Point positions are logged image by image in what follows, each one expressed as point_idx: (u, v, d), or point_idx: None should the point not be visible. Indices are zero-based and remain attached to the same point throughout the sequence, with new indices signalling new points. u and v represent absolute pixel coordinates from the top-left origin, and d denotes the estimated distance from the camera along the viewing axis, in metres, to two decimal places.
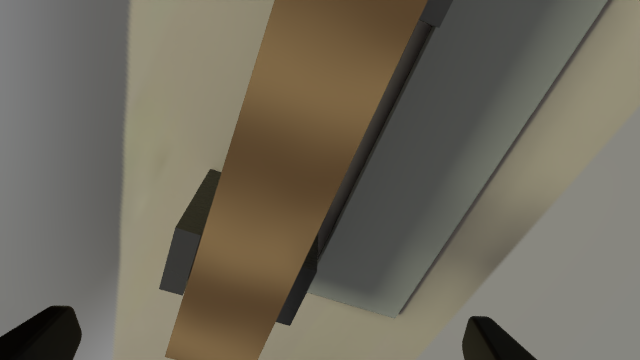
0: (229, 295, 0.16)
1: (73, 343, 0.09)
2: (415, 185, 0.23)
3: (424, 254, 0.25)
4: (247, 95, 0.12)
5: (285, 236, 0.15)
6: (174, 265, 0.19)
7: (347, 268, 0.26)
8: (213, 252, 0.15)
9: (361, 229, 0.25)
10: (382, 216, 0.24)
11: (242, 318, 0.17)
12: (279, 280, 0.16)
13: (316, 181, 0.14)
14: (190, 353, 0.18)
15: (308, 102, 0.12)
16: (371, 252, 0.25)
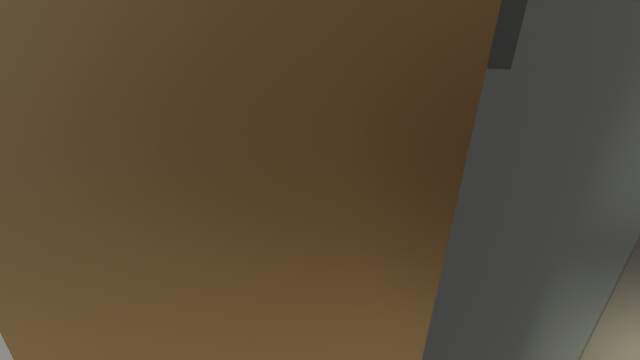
0: None
1: None
2: (516, 272, 0.14)
3: (560, 355, 0.16)
4: None
5: None
6: None
7: None
8: None
9: (449, 348, 0.16)
10: (476, 324, 0.15)
11: None
12: None
13: None
14: None
15: None
16: None
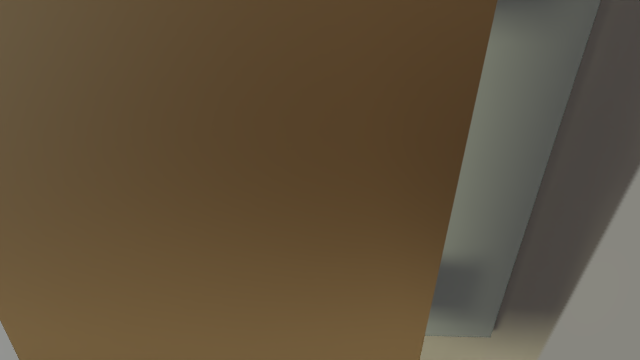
0: None
1: None
2: (462, 192, 0.20)
3: (500, 262, 0.22)
4: None
5: None
6: None
7: None
8: None
9: None
10: None
11: None
12: None
13: None
14: None
15: None
16: None
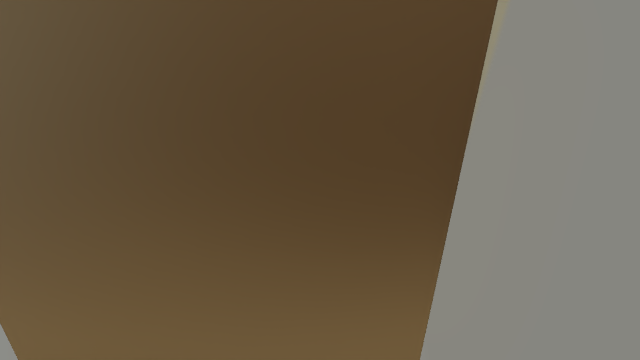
0: None
1: None
2: None
3: None
4: None
5: None
6: None
7: None
8: None
9: None
10: None
11: None
12: None
13: None
14: None
15: None
16: None
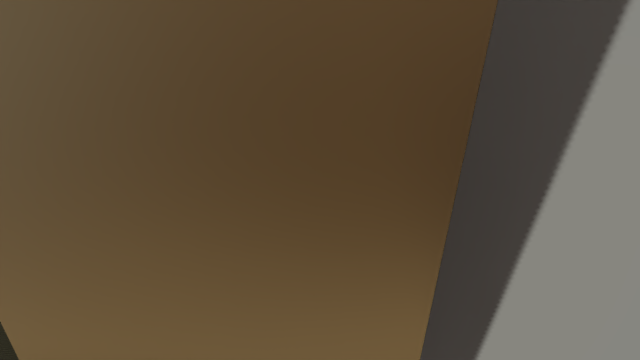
0: None
1: None
2: None
3: None
4: None
5: None
6: None
7: None
8: None
9: None
10: None
11: None
12: None
13: None
14: None
15: None
16: None
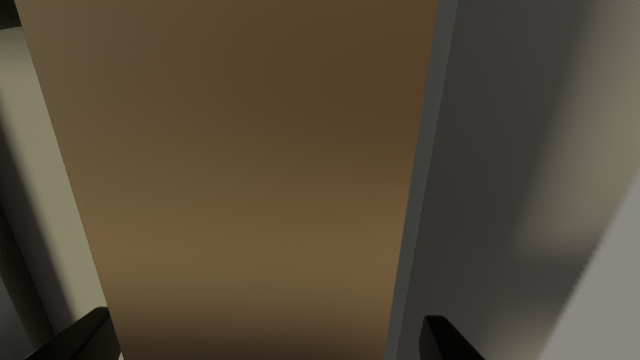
0: None
1: (118, 344, 0.09)
2: None
3: None
4: (123, 344, 0.06)
5: None
6: None
7: None
8: None
9: None
10: None
11: None
12: None
13: None
14: None
15: (244, 323, 0.06)
16: None
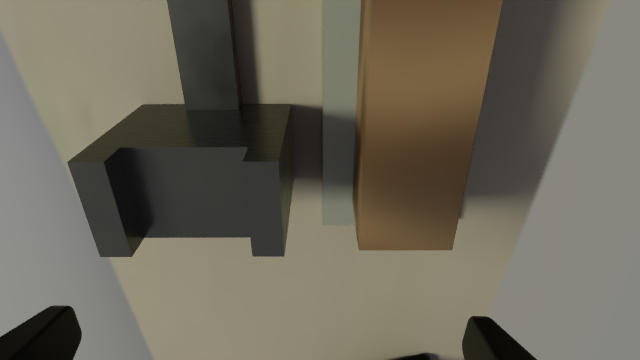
0: (412, 148, 0.14)
1: (73, 343, 0.09)
2: None
3: None
4: None
5: (460, 45, 0.13)
6: (98, 218, 0.14)
7: None
8: (385, 98, 0.13)
9: None
10: None
11: (431, 174, 0.15)
12: (464, 108, 0.14)
13: None
14: (384, 237, 0.16)
15: None
16: None
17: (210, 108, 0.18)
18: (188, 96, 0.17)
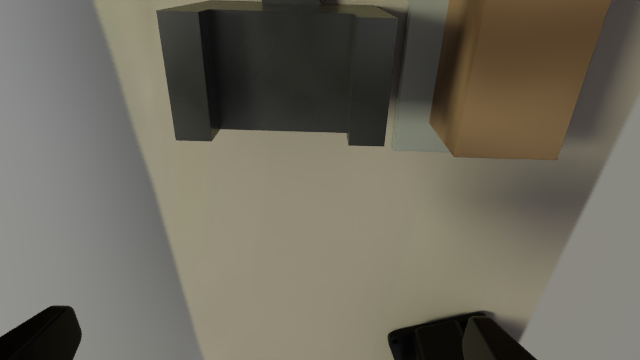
0: (534, 26, 0.13)
1: (73, 343, 0.09)
2: None
3: None
4: None
5: None
6: (181, 88, 0.12)
7: None
8: None
9: None
10: None
11: (550, 61, 0.13)
12: None
13: None
14: (484, 141, 0.15)
15: None
16: None
17: (289, 2, 0.16)
18: None
